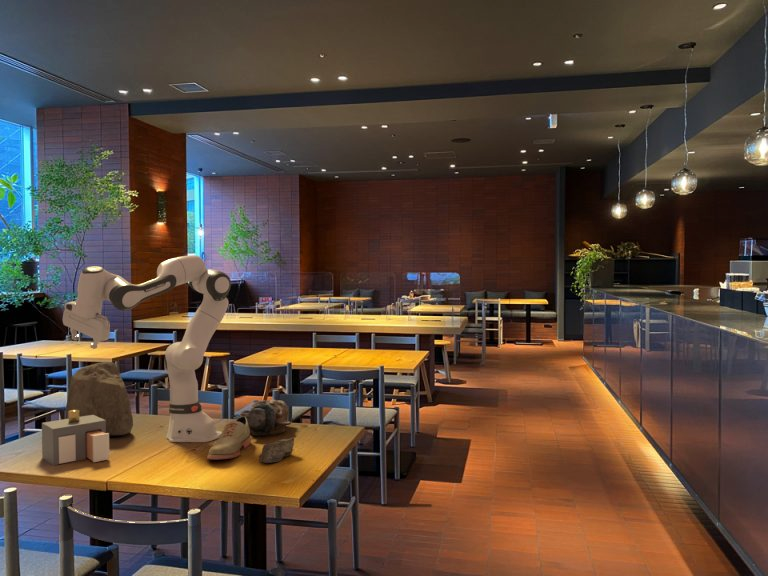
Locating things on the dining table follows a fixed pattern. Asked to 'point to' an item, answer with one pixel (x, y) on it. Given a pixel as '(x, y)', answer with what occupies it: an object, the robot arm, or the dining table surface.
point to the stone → (101, 397)
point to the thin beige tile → (66, 448)
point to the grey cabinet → (65, 428)
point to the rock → (276, 450)
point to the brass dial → (73, 416)
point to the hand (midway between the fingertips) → (84, 343)
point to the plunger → (97, 445)
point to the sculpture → (267, 418)
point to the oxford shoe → (231, 440)
